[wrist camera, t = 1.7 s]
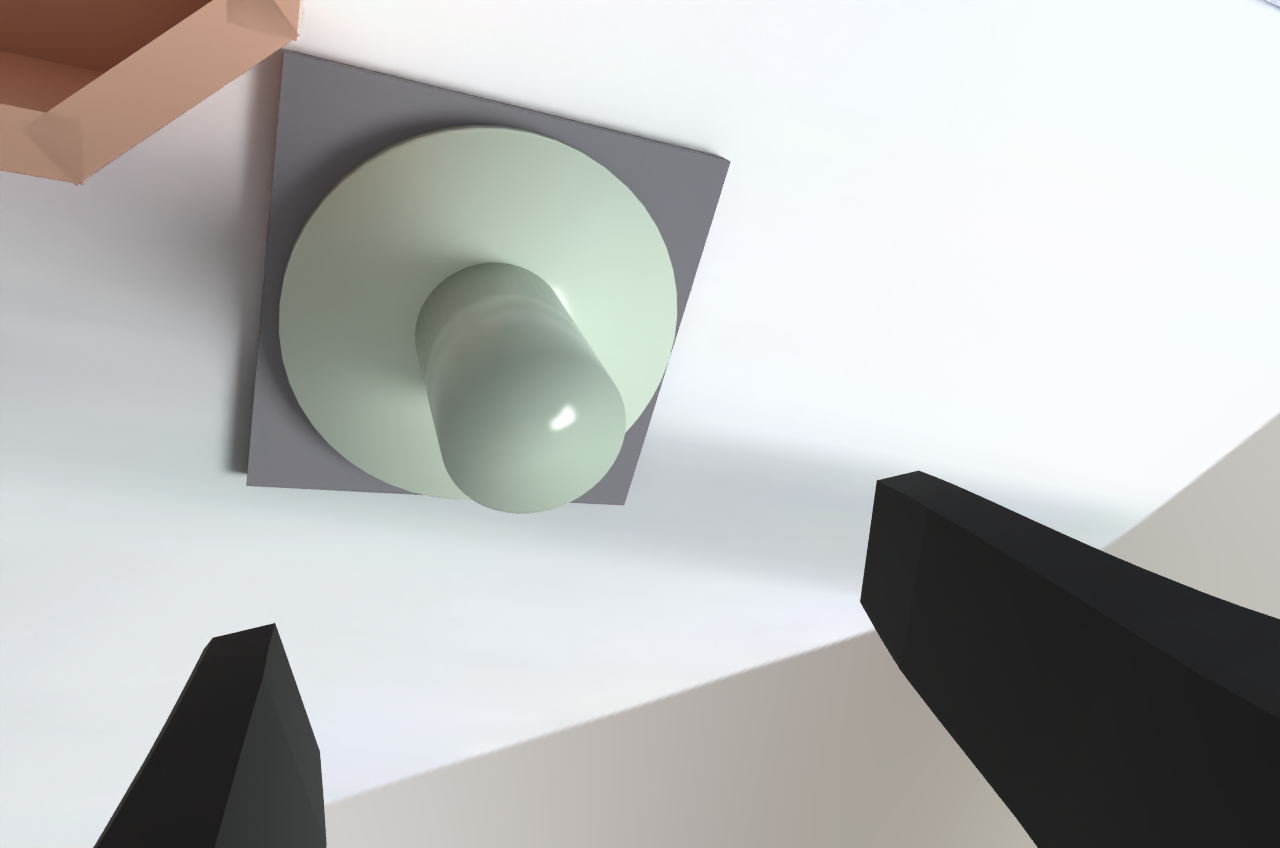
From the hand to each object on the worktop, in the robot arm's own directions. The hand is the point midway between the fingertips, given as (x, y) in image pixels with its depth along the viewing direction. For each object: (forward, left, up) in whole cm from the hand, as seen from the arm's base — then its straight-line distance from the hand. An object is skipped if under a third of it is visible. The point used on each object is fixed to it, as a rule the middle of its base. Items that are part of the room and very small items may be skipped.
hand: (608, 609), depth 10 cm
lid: (0, 0, -9) cm, 9 cm away
